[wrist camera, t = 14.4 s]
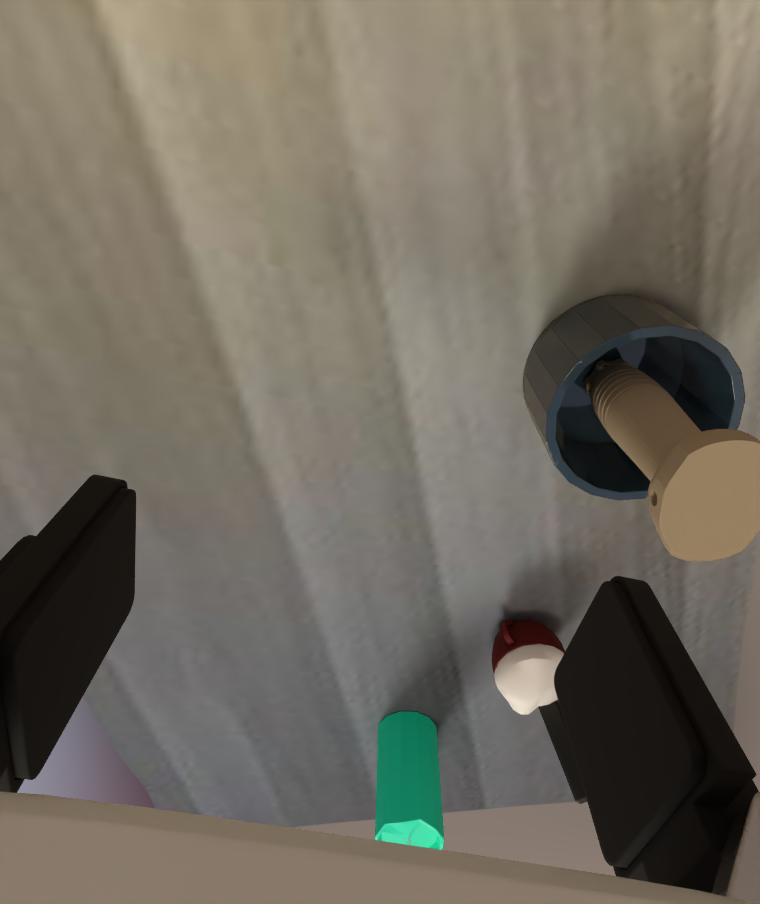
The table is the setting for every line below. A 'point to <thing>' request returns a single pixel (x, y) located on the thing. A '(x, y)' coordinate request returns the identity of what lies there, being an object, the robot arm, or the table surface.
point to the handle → (681, 464)
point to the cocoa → (535, 684)
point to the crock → (647, 349)
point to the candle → (408, 782)
